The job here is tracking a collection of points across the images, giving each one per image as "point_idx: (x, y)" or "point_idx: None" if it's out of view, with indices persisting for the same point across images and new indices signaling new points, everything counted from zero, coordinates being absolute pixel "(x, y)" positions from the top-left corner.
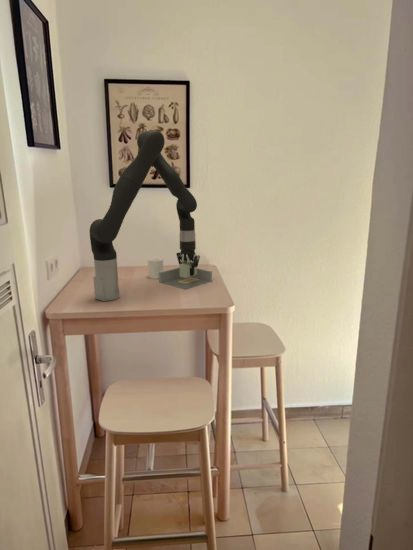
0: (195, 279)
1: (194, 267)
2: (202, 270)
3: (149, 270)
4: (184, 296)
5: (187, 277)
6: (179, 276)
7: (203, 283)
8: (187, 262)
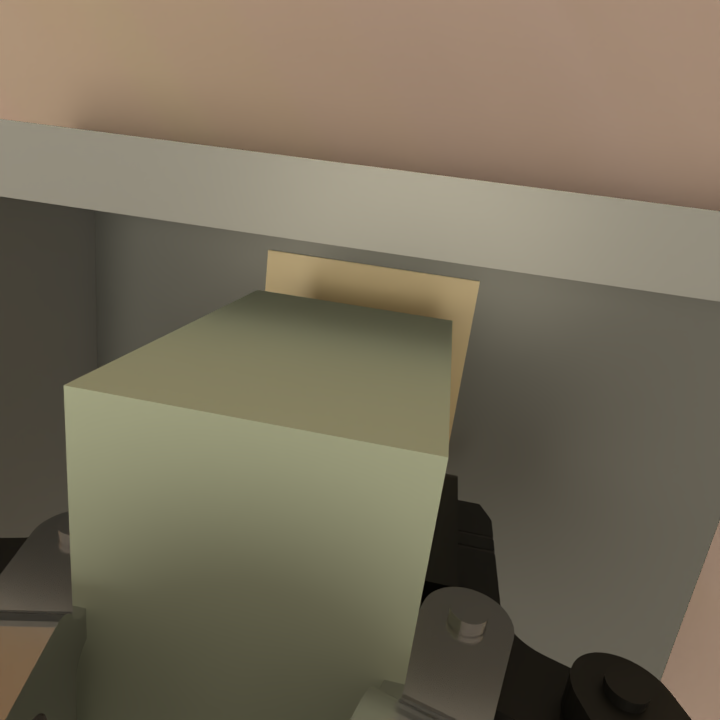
0: None
1: (524, 656)
2: (623, 286)
3: None
4: None
5: (201, 269)
6: (83, 356)
7: (715, 467)
8: (105, 616)
